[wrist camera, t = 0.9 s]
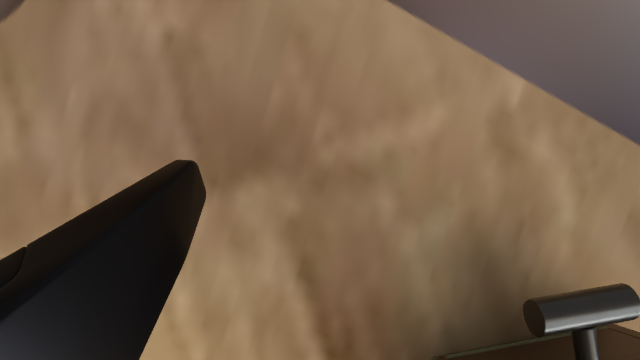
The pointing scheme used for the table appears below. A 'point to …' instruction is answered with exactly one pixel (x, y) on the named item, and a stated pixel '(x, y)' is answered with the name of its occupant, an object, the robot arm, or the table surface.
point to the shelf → (572, 328)
